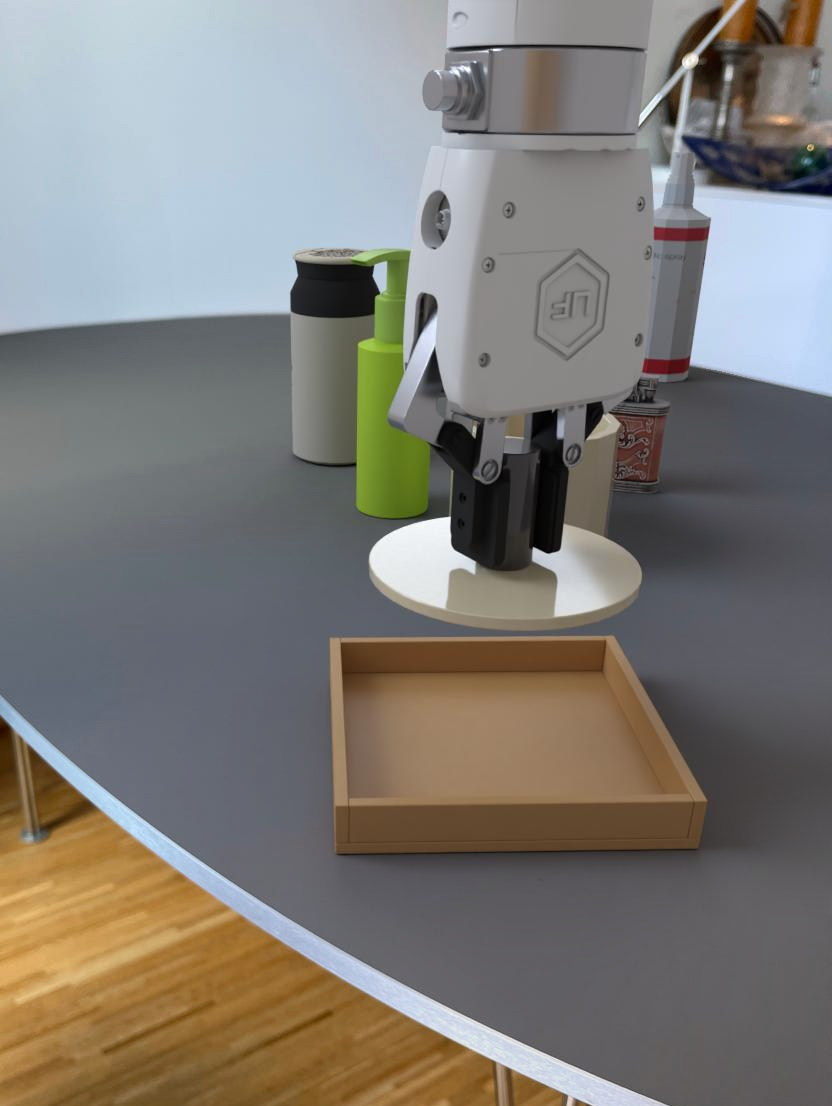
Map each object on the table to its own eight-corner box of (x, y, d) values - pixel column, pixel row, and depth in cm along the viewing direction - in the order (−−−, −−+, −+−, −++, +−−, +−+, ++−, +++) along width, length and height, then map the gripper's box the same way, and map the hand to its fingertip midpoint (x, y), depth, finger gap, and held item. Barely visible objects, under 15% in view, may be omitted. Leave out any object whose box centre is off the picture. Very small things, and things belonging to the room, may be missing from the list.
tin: (584, 516, 86) (597, 399, 82) (621, 572, 76) (639, 441, 71) (441, 516, 86) (446, 399, 81) (458, 573, 75) (466, 442, 71)
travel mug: (393, 451, 102) (398, 251, 94) (345, 472, 96) (347, 261, 88) (325, 437, 106) (324, 245, 97) (275, 457, 100) (270, 253, 92)
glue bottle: (610, 373, 132) (635, 151, 121) (645, 365, 136) (673, 150, 125) (664, 385, 127) (696, 154, 115) (699, 376, 131) (733, 152, 120)
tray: (608, 675, 62) (614, 635, 61) (699, 849, 47) (708, 801, 46) (329, 677, 61) (329, 637, 60) (334, 854, 47) (334, 805, 46)
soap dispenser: (331, 507, 87) (331, 248, 78) (394, 490, 91) (401, 242, 82) (379, 526, 83) (384, 257, 74) (442, 508, 87) (455, 249, 78)
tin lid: (601, 535, 56) (617, 409, 53) (674, 643, 45) (699, 491, 42) (362, 536, 56) (364, 409, 53) (375, 645, 44) (378, 491, 41)
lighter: (661, 484, 93) (677, 369, 89) (653, 496, 90) (670, 377, 86) (570, 472, 96) (582, 360, 92) (560, 482, 93) (572, 367, 89)
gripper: (426, 105, 34) (406, 619, 43) (760, 110, 42) (689, 544, 50) (310, 104, 40) (313, 558, 48) (623, 108, 48) (579, 499, 56)
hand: (505, 547), depth 49 cm, fingers closed on tin lid, 2 cm apart
